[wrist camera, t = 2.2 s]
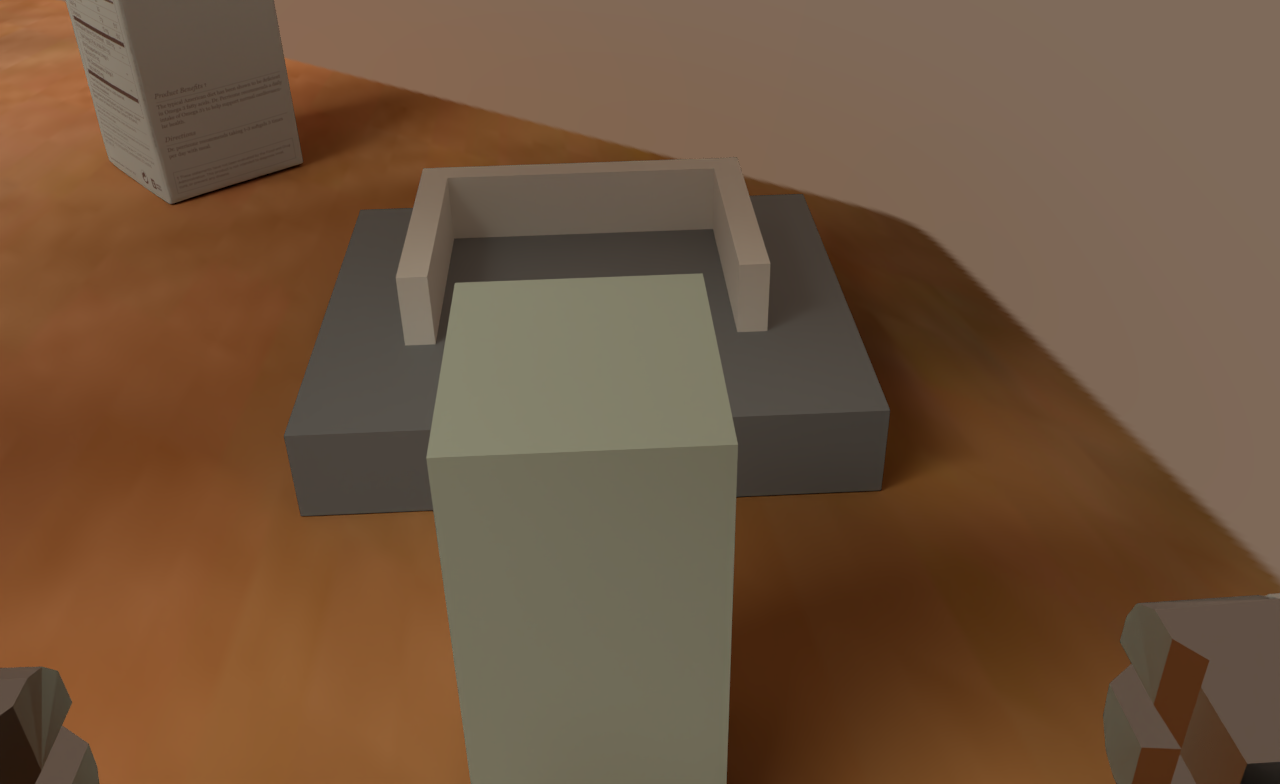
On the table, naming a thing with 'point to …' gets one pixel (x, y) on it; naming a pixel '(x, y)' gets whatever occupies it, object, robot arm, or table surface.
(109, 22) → the supplement box
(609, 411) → the pale green footed pillar
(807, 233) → the dock
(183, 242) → the table surface
